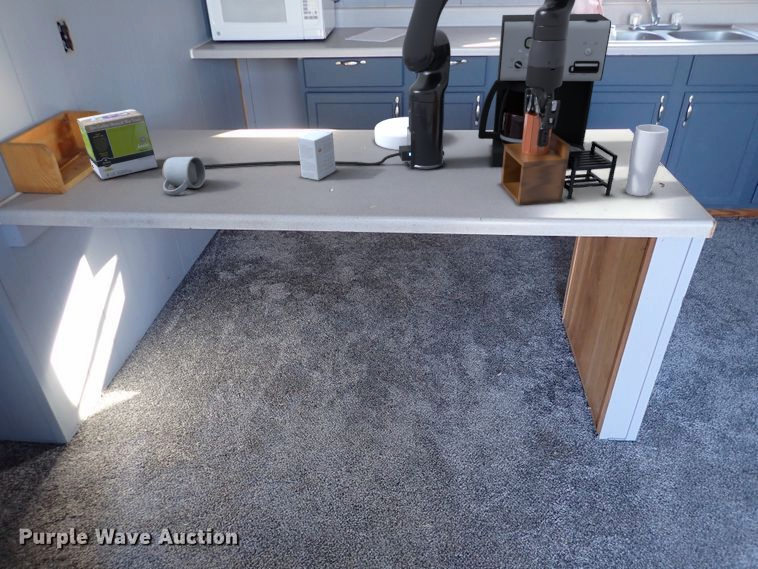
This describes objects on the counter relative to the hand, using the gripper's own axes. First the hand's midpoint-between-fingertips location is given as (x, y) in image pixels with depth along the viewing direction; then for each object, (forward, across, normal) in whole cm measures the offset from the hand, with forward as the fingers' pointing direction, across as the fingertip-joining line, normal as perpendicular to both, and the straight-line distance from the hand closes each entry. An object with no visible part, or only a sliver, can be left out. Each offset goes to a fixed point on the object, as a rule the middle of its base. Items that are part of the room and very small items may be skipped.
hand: (536, 141), depth 122 cm
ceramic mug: (+12, -20, -83) cm, 86 cm away
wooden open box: (+12, 0, 0) cm, 12 cm away
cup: (+2, 0, 0) cm, 2 cm away
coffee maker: (+12, -25, +9) cm, 29 cm away
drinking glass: (+12, +5, +24) cm, 27 cm away
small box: (+12, -23, -49) cm, 56 cm away
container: (+12, -48, -21) cm, 54 cm away
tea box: (+12, -38, -102) cm, 110 cm away
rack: (+12, 0, +12) cm, 17 cm away
